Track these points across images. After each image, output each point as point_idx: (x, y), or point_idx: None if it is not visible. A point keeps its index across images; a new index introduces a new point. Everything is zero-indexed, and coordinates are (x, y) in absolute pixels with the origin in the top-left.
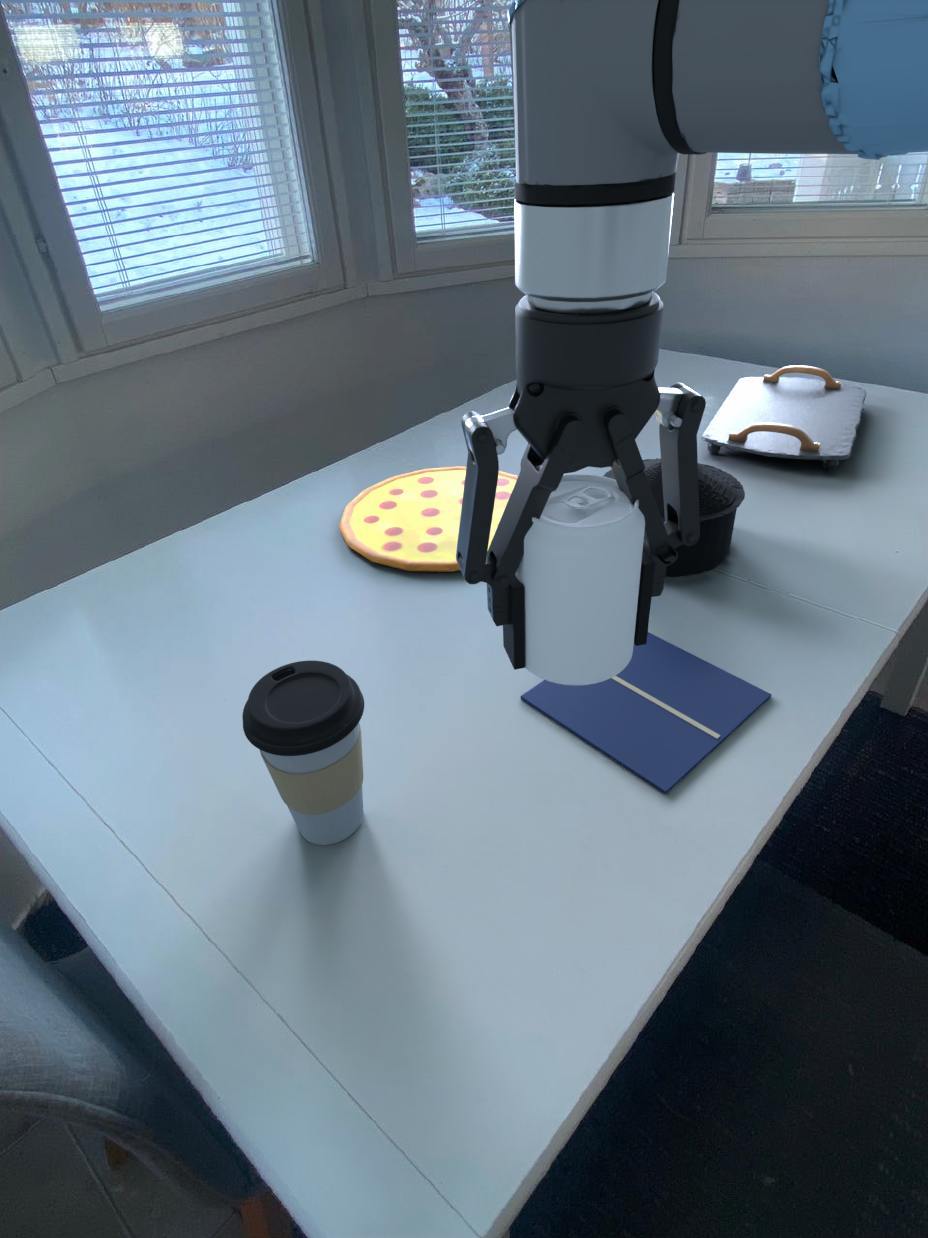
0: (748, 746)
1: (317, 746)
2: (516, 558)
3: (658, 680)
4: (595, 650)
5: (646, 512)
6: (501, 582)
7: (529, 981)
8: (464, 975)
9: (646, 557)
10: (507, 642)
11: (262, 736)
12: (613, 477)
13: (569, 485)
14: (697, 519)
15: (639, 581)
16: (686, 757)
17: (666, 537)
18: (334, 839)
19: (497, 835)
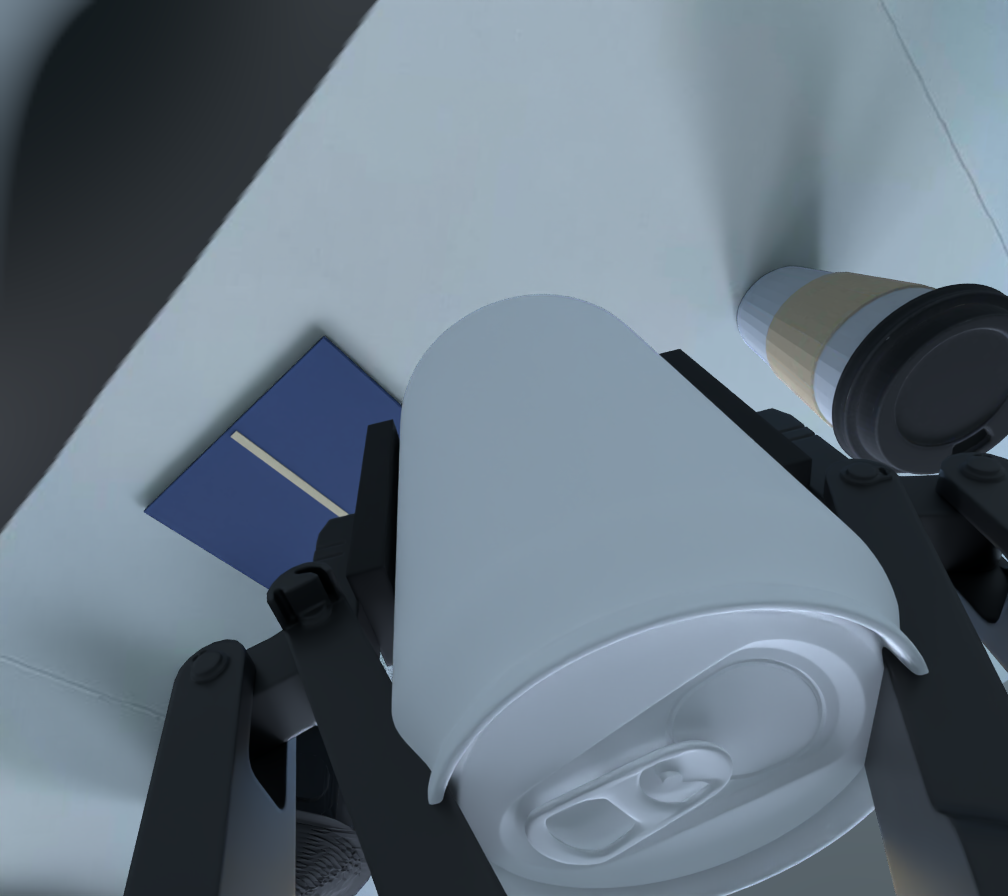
0: (190, 419)
1: (932, 298)
2: (866, 530)
3: (313, 535)
4: (529, 326)
5: (385, 745)
6: (866, 466)
7: (553, 20)
8: (639, 39)
9: (370, 603)
10: None
11: None
12: (347, 885)
13: (666, 862)
14: (168, 736)
15: (402, 512)
16: (286, 398)
17: (302, 658)
18: (783, 269)
19: (567, 273)
